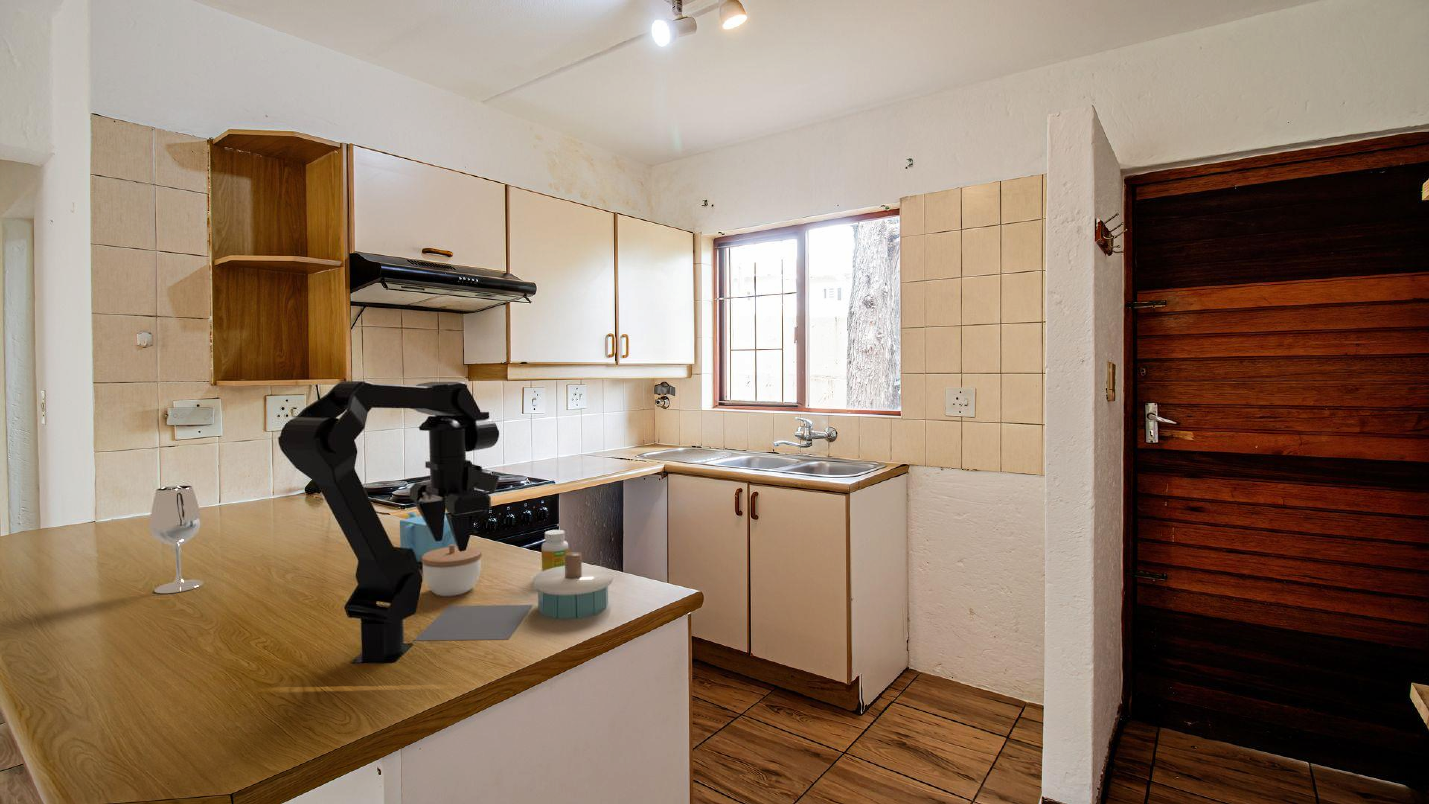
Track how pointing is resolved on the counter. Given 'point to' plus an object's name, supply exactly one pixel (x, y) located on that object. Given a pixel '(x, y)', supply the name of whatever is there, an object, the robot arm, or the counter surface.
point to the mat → (475, 623)
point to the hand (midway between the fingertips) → (450, 545)
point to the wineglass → (175, 528)
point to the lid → (572, 577)
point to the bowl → (572, 604)
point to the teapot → (422, 536)
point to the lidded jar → (451, 570)
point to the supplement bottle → (554, 549)
